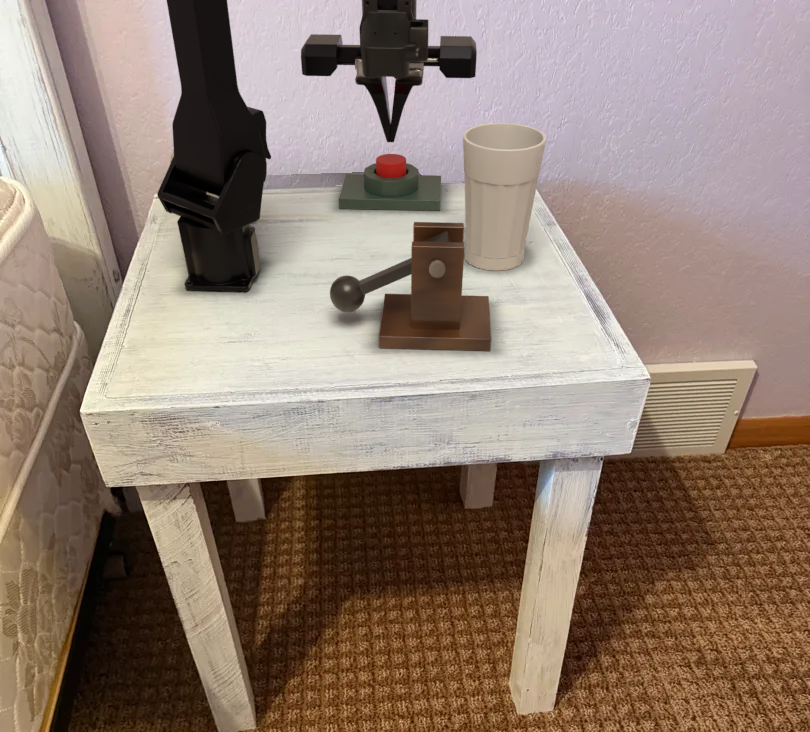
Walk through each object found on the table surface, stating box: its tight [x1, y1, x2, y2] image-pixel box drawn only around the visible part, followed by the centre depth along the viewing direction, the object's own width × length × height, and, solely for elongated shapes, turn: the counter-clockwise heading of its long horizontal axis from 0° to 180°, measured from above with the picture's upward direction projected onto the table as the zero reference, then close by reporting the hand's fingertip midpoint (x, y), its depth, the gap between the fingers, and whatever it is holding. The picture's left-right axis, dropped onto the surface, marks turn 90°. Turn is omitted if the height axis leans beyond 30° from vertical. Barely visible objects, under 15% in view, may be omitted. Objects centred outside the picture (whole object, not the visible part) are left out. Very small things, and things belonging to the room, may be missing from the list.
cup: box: [462, 122, 547, 271], centre depth 77 cm, size 8×8×12 cm
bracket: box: [378, 221, 492, 352], centre depth 68 cm, size 10×8×9 cm
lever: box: [329, 231, 452, 313], centre depth 68 cm, size 12×3×3 cm, turn 88°
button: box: [375, 153, 407, 178], centre depth 91 cm, size 4×4×2 cm
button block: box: [338, 162, 442, 212], centre depth 92 cm, size 12×8×3 cm, turn 87°
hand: (390, 141), depth 89 cm, fingers closed
